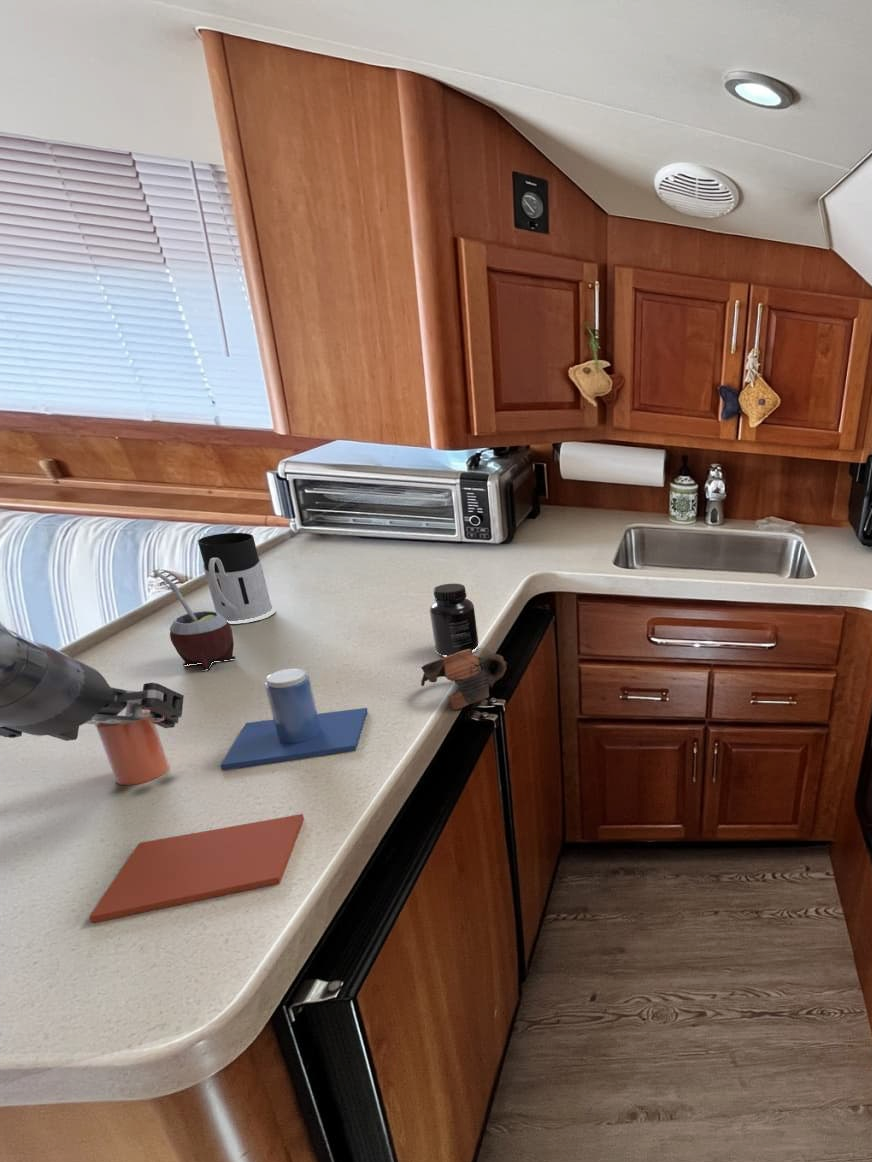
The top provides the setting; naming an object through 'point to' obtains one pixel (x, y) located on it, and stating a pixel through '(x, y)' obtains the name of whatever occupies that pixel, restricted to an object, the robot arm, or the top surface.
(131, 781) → the cylinder
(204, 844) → the terracotta mat
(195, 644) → the mate gourd
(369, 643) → the top surface
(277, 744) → the blue mat
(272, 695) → the cylinder
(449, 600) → the supplement bottle
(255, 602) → the grey coffee mug
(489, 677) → the pottery mug
